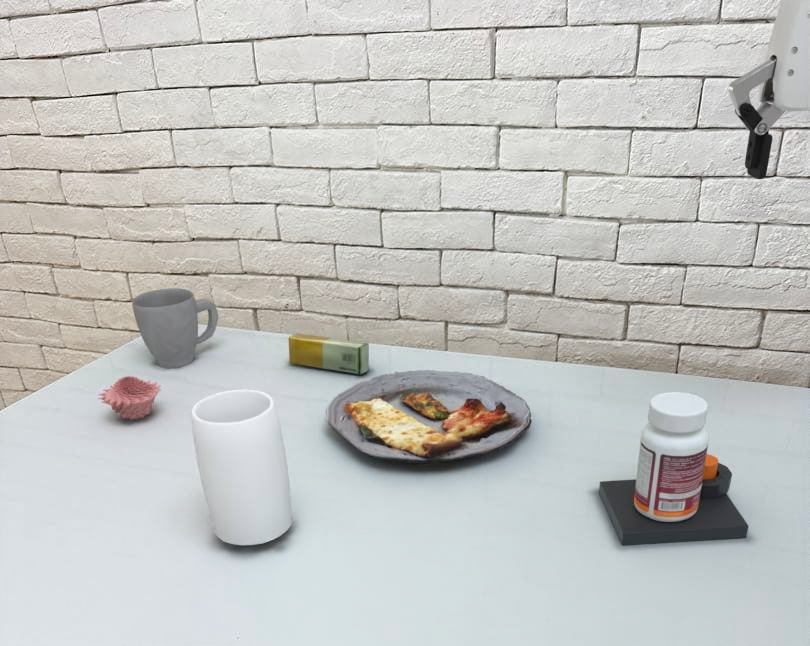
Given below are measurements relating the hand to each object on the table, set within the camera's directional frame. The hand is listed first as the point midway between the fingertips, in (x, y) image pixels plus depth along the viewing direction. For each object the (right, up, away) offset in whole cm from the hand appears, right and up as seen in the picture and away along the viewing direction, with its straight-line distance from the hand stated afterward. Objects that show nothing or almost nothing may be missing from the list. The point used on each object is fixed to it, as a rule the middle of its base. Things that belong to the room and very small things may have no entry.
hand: (804, 173), depth 85 cm
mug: (-73, -9, +44) cm, 85 cm away
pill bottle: (-14, -33, 0) cm, 36 cm away
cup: (-55, -36, +2) cm, 66 cm away
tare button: (-9, -30, +3) cm, 31 cm away
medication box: (-50, -12, +38) cm, 64 cm away
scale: (-13, -34, +2) cm, 36 cm away
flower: (-75, -20, +27) cm, 82 cm away
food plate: (-37, -23, +21) cm, 48 cm away
